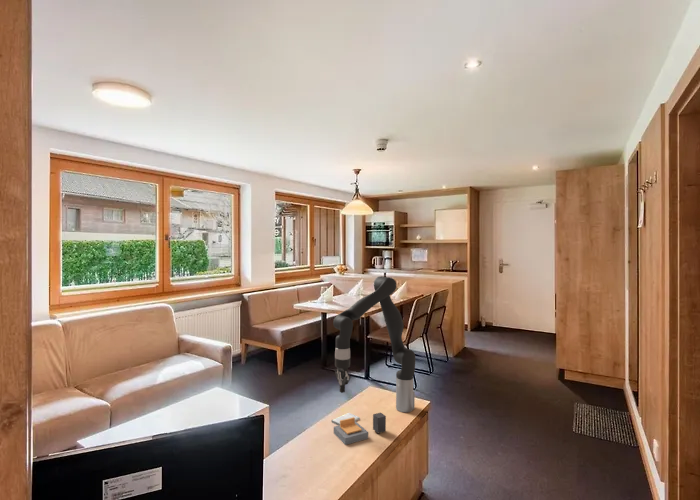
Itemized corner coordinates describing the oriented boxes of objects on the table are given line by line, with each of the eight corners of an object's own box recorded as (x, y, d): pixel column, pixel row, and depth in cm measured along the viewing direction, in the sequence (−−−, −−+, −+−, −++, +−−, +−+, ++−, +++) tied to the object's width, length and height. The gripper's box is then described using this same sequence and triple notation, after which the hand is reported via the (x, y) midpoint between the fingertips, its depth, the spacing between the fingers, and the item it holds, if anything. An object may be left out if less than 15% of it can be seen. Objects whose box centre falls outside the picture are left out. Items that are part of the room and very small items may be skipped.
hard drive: (343, 425, 181) (359, 417, 190) (331, 420, 187) (348, 412, 196) (343, 428, 181) (359, 420, 190) (331, 423, 187) (348, 415, 196)
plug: (380, 428, 180) (380, 412, 180) (385, 432, 176) (385, 416, 176) (372, 430, 178) (373, 414, 178) (377, 434, 174) (377, 418, 174)
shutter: (353, 423, 178) (353, 417, 178) (361, 430, 172) (361, 423, 172) (339, 427, 175) (339, 420, 175) (347, 434, 168) (347, 427, 168)
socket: (355, 427, 181) (355, 421, 181) (368, 438, 171) (368, 432, 171) (333, 433, 176) (333, 426, 176) (345, 444, 165) (345, 438, 165)
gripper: (355, 359, 177) (355, 395, 177) (343, 352, 189) (342, 386, 189) (341, 361, 173) (341, 398, 173) (329, 354, 185) (329, 388, 185)
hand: (342, 392), depth 181 cm, fingers closed
